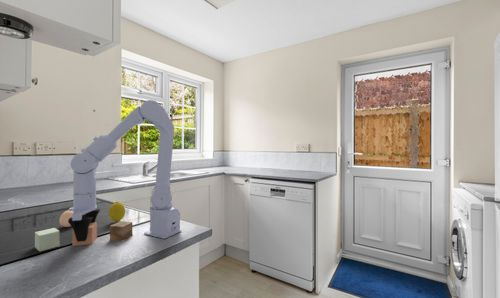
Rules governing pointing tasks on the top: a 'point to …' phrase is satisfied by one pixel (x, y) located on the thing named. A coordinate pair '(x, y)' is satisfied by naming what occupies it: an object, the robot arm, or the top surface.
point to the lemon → (116, 211)
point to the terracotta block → (90, 237)
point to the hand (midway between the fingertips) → (85, 236)
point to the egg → (65, 218)
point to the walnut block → (121, 231)
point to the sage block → (47, 239)
